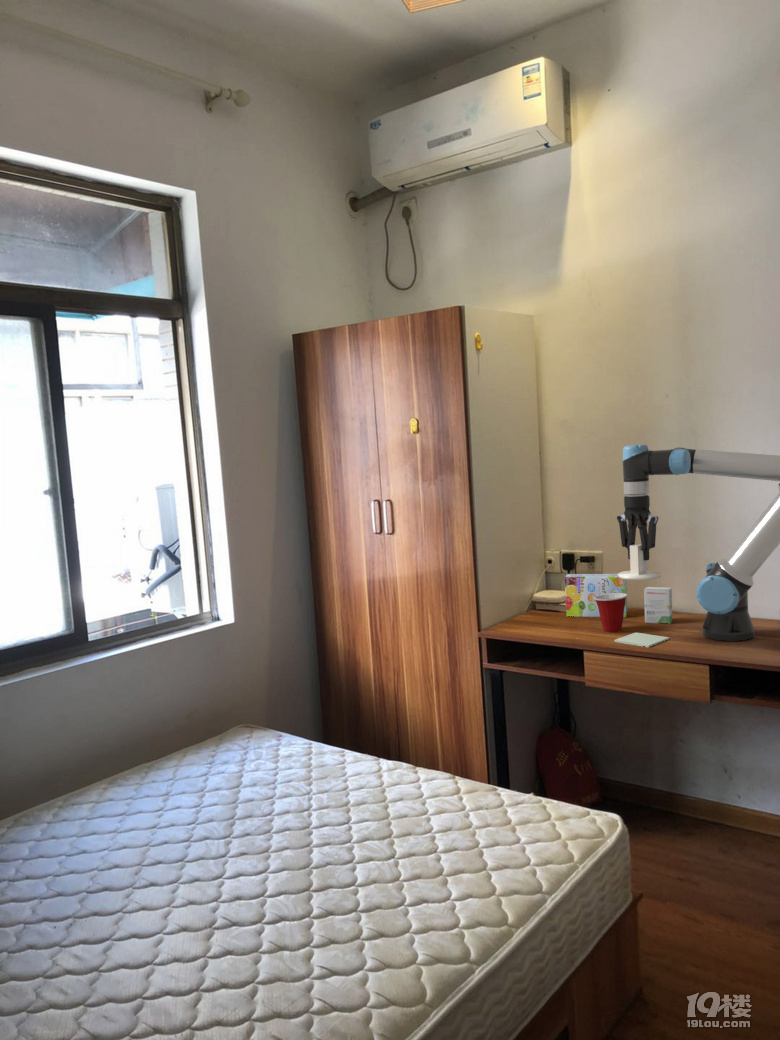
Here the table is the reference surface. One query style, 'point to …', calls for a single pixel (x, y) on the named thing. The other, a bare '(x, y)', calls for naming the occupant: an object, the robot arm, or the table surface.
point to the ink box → (658, 605)
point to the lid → (637, 567)
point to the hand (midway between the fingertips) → (639, 570)
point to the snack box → (590, 592)
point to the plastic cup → (611, 610)
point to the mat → (641, 639)
